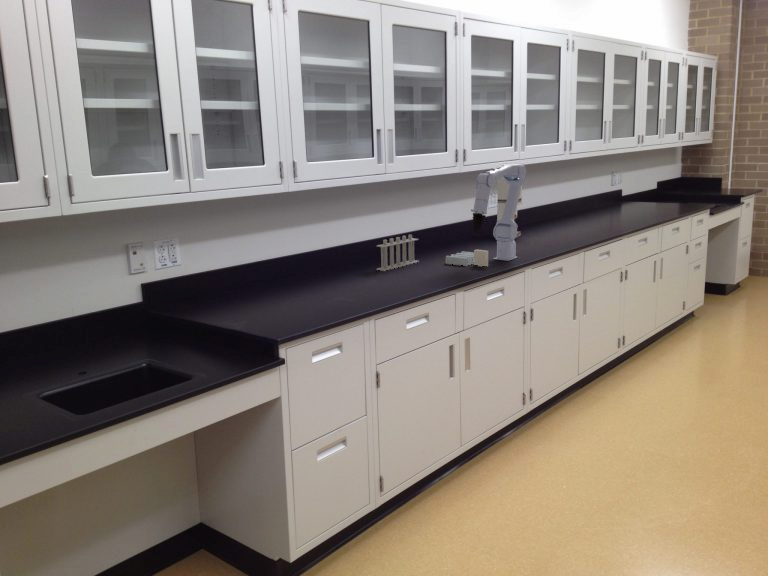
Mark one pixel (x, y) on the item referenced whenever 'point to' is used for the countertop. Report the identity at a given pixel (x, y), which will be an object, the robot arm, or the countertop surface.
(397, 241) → the test tube rack
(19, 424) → the countertop surface
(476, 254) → the cream tile
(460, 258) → the drying rack
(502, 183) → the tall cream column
